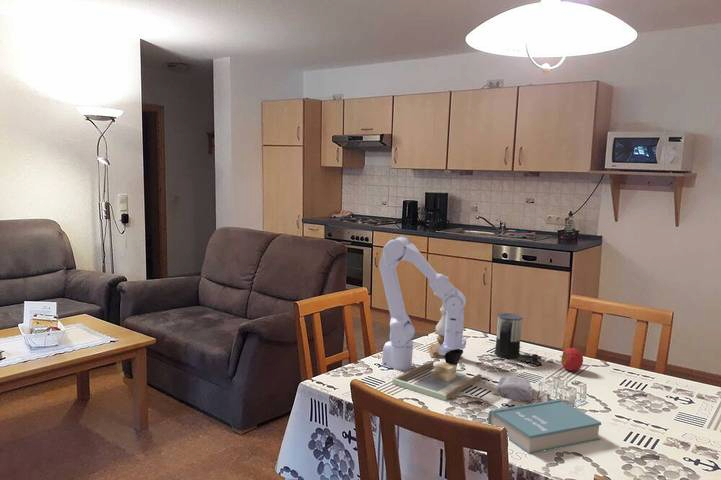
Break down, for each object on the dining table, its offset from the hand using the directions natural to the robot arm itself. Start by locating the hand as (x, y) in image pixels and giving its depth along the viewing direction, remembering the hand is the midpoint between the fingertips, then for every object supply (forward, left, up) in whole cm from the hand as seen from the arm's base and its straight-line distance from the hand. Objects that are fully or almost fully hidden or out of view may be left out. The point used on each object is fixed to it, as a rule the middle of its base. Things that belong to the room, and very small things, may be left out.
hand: (451, 371), depth 181 cm
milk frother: (+7, +36, -3) cm, 37 cm away
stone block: (+20, +4, -3) cm, 20 cm away
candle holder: (-12, +17, -3) cm, 21 cm away
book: (+36, -17, -3) cm, 40 cm away
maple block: (0, -4, -1) cm, 4 cm away
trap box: (0, -8, -2) cm, 8 cm away
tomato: (+26, +37, -3) cm, 45 cm away
